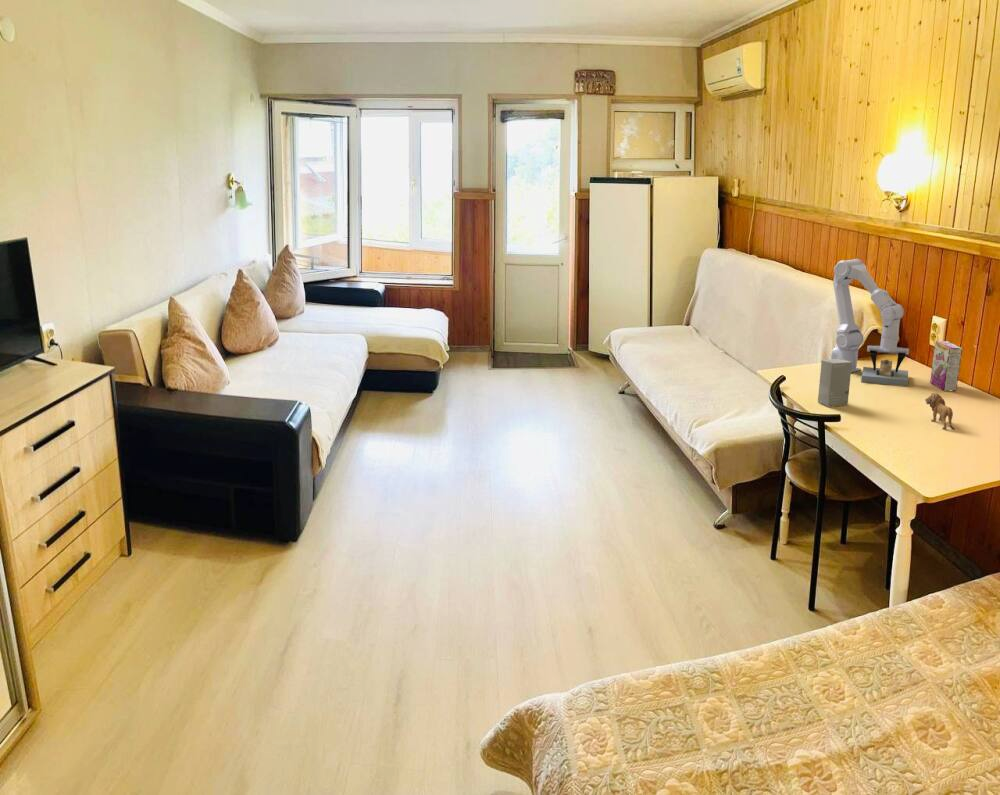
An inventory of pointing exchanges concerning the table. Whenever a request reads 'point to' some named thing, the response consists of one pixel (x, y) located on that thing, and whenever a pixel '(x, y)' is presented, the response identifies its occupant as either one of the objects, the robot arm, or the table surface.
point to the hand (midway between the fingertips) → (885, 370)
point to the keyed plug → (885, 368)
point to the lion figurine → (940, 409)
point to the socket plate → (885, 377)
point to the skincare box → (834, 382)
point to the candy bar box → (946, 365)
